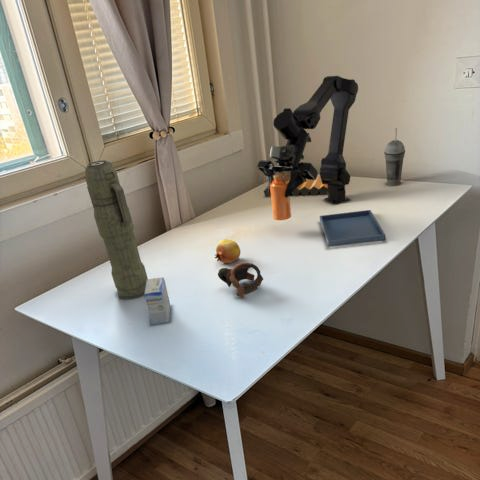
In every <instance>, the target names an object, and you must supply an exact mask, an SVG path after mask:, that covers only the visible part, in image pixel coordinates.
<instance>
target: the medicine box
mask: <svg viewBox="0 0 480 480" xmlns="http://www.w3.org/2000/svg"><path fill="white" fill-rule="evenodd" d="M143 296H144V301H145V305H146V308H147V312H148V316H149V319H150V323H151V325H153V326H154V325H160V324H166V323H170V318H171V317H170V316H171V312H170V311H171V303H170V297H169V293H168V289H167V284H166V280H165V278H164V277H162V276H161V277H154V278H148V280H147V281H146V287H145V292H144V294H143Z"/></svg>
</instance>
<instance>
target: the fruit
mask: <svg viewBox="0 0 480 480" xmlns="http://www.w3.org/2000/svg"><path fill="white" fill-rule="evenodd" d="M215 253H216V254H214V259H216V262H222V263H223V264H231V263H233V262H235V261H236V260H238V259H239V258H240V256H241V248H240V246H239V244H238V243H237V242H236V241H234V240H232V239H228V238H224V239H222V240H220V242H218V244H217V246H216V248H215Z"/></svg>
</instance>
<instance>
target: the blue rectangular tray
mask: <svg viewBox="0 0 480 480" xmlns="http://www.w3.org/2000/svg"><path fill="white" fill-rule="evenodd" d="M319 222H320V226H321V229H322V231H323V234H324V237H325V240H326V244H327V246H328V248H329V247H337V246H338V247H339V246H345V245H355V244H362V243H363V244H364V243H372V242H380V241H386V238H387V237H386V233H385V231H384V230H383V228H382V226H381V225H380V223H379V222H378V220H377V218H376V217H375V215H374V213H373V212H372V210H371V209H366V210H365V209H364V210H358V211H349V212H341V213H333V214H332V213H331V214H324V215H319Z"/></svg>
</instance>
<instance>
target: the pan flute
mask: <svg viewBox="0 0 480 480" xmlns="http://www.w3.org/2000/svg"><path fill="white" fill-rule="evenodd" d="M277 174H283V179H285V180H286V181H288V183H289V181H290V173H282V172H278V173H277ZM306 180H307V178H306ZM263 194H264V197H266V198H269V197H270V198H271V196H269V195H268V185H267V186H266V187H265V189H264V190H263ZM300 194H301V196H309V194H310V195H311V196H317V195H318V194H319V195H320V196H325V195H327V196H328V186H327V184H322V181H321V177H320V175H318V176H317V178H316V180H307V181H306V182H304V183H302V184H301V185H300V186H299V187H298V188H296V189H295V190H294V191H293V192H292V193H291V195H292V197H298V196H299V195H300Z"/></svg>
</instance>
